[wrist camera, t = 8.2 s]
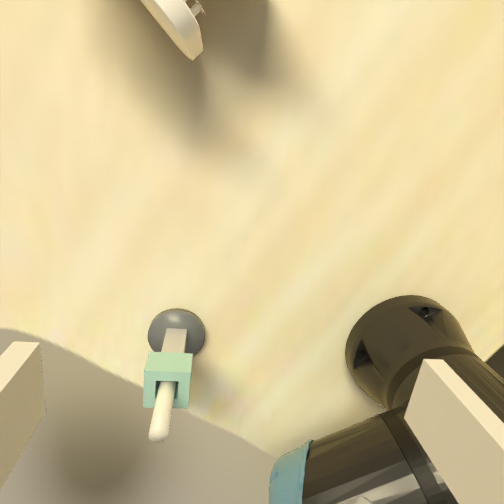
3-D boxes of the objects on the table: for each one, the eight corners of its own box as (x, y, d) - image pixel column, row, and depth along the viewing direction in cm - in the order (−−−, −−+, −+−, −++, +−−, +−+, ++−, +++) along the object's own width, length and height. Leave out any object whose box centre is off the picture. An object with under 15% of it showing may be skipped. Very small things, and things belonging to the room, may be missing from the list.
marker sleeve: (192, 353, 37) (190, 372, 34) (190, 387, 38) (187, 408, 36) (149, 351, 36) (144, 370, 34) (148, 386, 38) (143, 407, 35)
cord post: (206, 310, 43) (202, 404, 29) (202, 356, 46) (196, 465, 31) (150, 306, 43) (116, 402, 28) (148, 354, 45) (116, 465, 30)
